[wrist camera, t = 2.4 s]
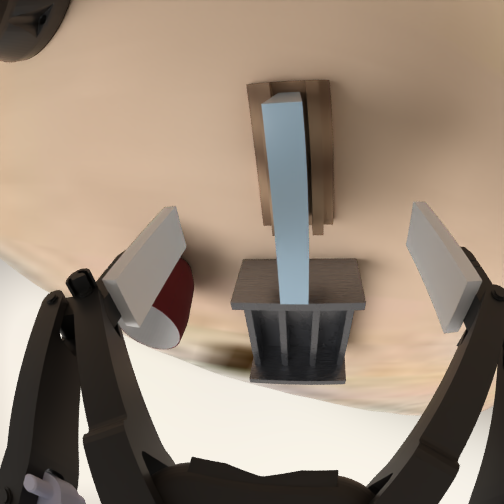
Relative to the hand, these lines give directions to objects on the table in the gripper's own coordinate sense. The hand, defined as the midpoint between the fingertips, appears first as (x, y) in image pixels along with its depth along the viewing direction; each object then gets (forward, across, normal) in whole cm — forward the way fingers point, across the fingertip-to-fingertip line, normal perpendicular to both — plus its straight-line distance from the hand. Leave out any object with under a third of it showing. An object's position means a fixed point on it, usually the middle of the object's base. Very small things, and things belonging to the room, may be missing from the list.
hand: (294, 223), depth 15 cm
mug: (+13, -16, -12) cm, 24 cm away
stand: (+13, 0, 0) cm, 13 cm away
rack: (+13, 0, -20) cm, 23 cm away
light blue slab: (+12, 0, 0) cm, 12 cm away
